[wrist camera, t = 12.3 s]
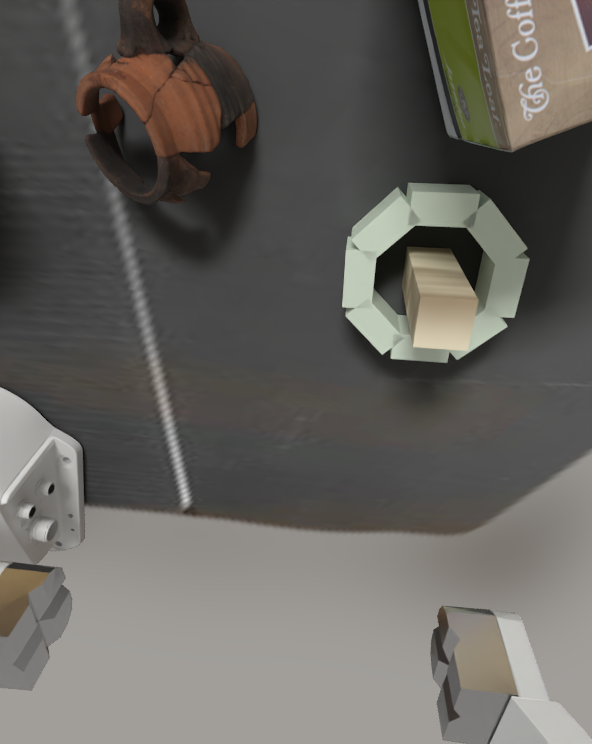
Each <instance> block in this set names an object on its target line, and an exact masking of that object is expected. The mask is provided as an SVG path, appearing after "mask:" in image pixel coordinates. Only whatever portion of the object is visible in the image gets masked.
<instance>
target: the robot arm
mask: <svg viewBox="0 0 592 744" xmlns="http://www.w3.org/2000/svg"><path fill="white" fill-rule="evenodd" d="M84 538H85V520H84V483H83V450H82V447H81V445H80V444H79V443H78V442H77V441H76V440H75V439H74V438H72V437H70V436H69V435H67V434H65V433H64V432H62V431H60V430H58V429H56V428H55V427H53V426H52V425H51V424H50V423H49V422H48V421H47V420H46V419H45V418H44V417H43V416H42V415H41V414H40V413H39V412H37V411H36V410H35V409H34V408H33V407H32V406H31V405H29V404H28V403H27V402H25V401H24V400H22V399H21V398H19V397H18V396H16V395H14V394H13V393H11V392H9V391H7V390H5V389H3V388H0V688H8V689H20V690H32V689H33V687H34V685H35V683H36V681H37V680H38V678H39V676H40V674H41V672H42V671H43V669H44V667H45V665H46V663H47V661H48V660H49V650H48V646H49V645H51V644H52V643H53V642H55V641H56V640H57V639H58V638H60V637H61V635H62V633H63V632H64V630H65V628H66V626H67V624H68V621H69V617H70V613H71V609H72V597H71V594H70V591H69V590H68V589H67V588H65V587H64V586H63V585H62V583H63V581H64V580H65V575H64V572H63V570H62V568H60V567H51V566H42V565H36V564H37V563H38V562H39V561H40V560H41V559H42V558H43V557H44V556H45V555H46V554H47V552H48V551H60V550H66V549H71V548H74V547H76V546H78V545H80V543H81V542H82V541H83V540H84ZM437 617H438V623H439V627H437V628H436V629H434V630H433V634H432V639H431V666H432V673H433V679H434V680H435V682H436V683H437V684H438V685H439V687H440V688H441V691H440V694H439V697H438V700H437V707H438V713H439V719H440V725H441V732H442V738H443V740H445V741H452V742H459V743H465V744H592V738H591V737H590V736H589V735H588V734H587V733H586V732H585V731H584V730H583V729H582V727H581V726H580V725H579V724H578V723H577V722H576V721H575V720H574V719H573V717H572V716H571V715H570V714H569V713H568V712H567V711H566V710H565V709H564V708H563V706H562V705H561V704H560V703H559V702H558V701H552V700H550V699H549V696H548V694H547V691H546V688H545V685H544V682H543V679H542V676H541V673H540V670H539V667H538V665H537V662H536V659H535V656H534V653H533V650H532V648H531V644H530V642H529V639H528V636H527V633H526V630H525V627H524V624H523V622H522V619H521V618H520V616H519V615H518V614H516V613H511V612H498V611H490V610H486V609H474V608H462V607H449V606H442V607H441V608H440V609H439V612H438V616H437Z"/></svg>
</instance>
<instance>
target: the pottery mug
mask: <svg viewBox="0 0 592 744" xmlns="http://www.w3.org/2000/svg"><path fill="white" fill-rule="evenodd" d="M153 4H154V6H155V7H156V9H157V11H158V14H159V24H158V26H156V23H155V19H154V14H153ZM119 14H120V26H121V35H120V39H119V41H118V43H117V45H116V47H117V52H118V53H119V54H120V55H121V56H123V58H121V59H118V60H117V62H116V59H115V57H114V56H113V55H112V54H111V55H109V56H108V57H107V58H106V59H105V60H103V62H102V63H101V64H100V66H99V67H98V68H97V70H96V72H95V71H94V72H91V73H89V74H87V75H86V76H84V77H83V79H82V80H81V81H80V84H79V86H78V90H77V94H76V95H77V97H76V106H77V111H78V112H79V113H80V114H81V115H82V116H87V115H89V114H91V117H92V120H93V123H94V126H95V129H96V131H97V134H88V135H86V139H85V142H86V145H87V147H88V149H89V151H90V153H91V155H92V157H93V159H94V160H95V161H96V163H97V165H98V167H99V168H100V169H101V171H102V172H103V174H104V175H105V176H106V177H107V178H108V180H109V181H110V182H111V183H112V184H113V185H114V186H116V187H117V188H118V189H119V190H120V191H121V192H122V193H123V194H124V195H125V196H127V197H129V198H131V199H132V200H134V201H136V202H139V203H142V204H153V203H155V202H157V201H159V200H160V201H166V202H171V203H184V202H185V198H184V197H182V196H178V195H183V194H189V193H191V192H193V191H194V190H196V189H203V188H204V187H205V186H206V185H207V183H208V181H209V180H210V177H211V174H210V172H208V171H198V169H197V168H195V167H194V166H192V165H191V164H190V163H189V162H188V161H187V160H186V159H185V158H184V156H183V155H182V154H181V153H183V152H185V153H192V152H196V153H198V152H199V153H200V152H212V151H213V149H214V148H216V147H217V145H218V144H219V142H220V137H221V129H225V128H226V127H227V126H229V125H230V124H231V122H232V121H234V120H235V124H236V145H237V146H238V147H240V148H242V147H244V146H246V145H247V143H248V142H249V141H250V140H251V139H252V138H253V137H254V136H255V134H256V129H257V112H256V106H255V102H254V96H253V93H252V90H251V88H250V85H249V81H248V79H247V78H246V76H245V74H244V73H243V71H242V69H241V67H240V66H239V64H238V63H237V62H236V61H235V59H234V58H232V57H231V56H230V55H229V54H228V53H227V52H225V51H224V50H223V49H221V48H220V47H218V46H215V45H211V44H209V43H207V42H204V41H202V40H199V36H198V34H197V32H196V31H195V29H194V27H193V24H192V22H191V18H190V15H189V12H188V8H187V5H186V2H185V0H119ZM167 54H171V55H174V56H180V57H184V59H183V60H182V62H181V63H179V64H178V66H176V65H175V64H174V62H173V60H172V59H171V57H169V56H168V55H167ZM100 88H107V89H110V90H112V91H113V92H115V93H116V94H118V95H119V96H120V97H121V98H122V99H124V100H125V101H126V102H127V103H128V104H129V106H130V107H131V108H132V109H133V110H134V111H135V113H136V114H137V116H138V117H139V118H140V120H141V121H142V122H143V123H144V125H145V128H146V130H147V132H148V134H149V136H150V139H151V142H152V144H153V147H154V150H155V153H156V155H157V162H158V178H157V182H156V184H155V186H154V188H153V189H152V188H151V187H149V186H147V185H145V184H144V182H143V180H142V179H141V178H140V177H139V176H138V175H137V174H136V173H135V172H134V171H133V170H132V169H131V168H130V166H129V165H128V164H127V162H126V161H125V160H124V157H123V155H122V153H121V150H120V147H119V144H118V141H117V139H116V135H115V133H114V129H115V128H116V127H117V126H118V124H119V123H120V121H121V120H122V118H123V113H122V110H121V108H120V105H119V103H118V101H117V99H116V97H115V96H114V95H113V94H105V95H104V96H103V98H102V99H100V100H99V90H100Z"/></svg>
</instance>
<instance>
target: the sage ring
mask: <svg viewBox="0 0 592 744" xmlns="http://www.w3.org/2000/svg"><path fill="white" fill-rule="evenodd" d="M415 225H416V226H439V227H461V228H467V229H468V230H469V232H470V233H471V234H472V236H473V237H474V238H475V239H476V241H477V242H478V243H479V244H480V246H481V247H482V248H483V255H482V259H481V264H480V269H479V274H478V278H477V283H476V288H475V292H474V293H475V294H476V296H477V298H478V300H479V301H478V306H477V310H476V315H475V320H474V324H473V329H472V333H471V338H470V342H469V347H468V351H462V350H448V349H433V348H419V347H413V345H412V339H411V334H410V329H409V323H408V318H407V315H397V314H396V312H395V311H394V310H393V309H392V308H391V307H390V306H389V305H388V304H387V302H386V301H385V300H384V299H383V298H382V297H381V296H380V295H379V294H378V292H377V291H376V290H375V289H374V288H373V287H374V277H375V267H376V258H377V257H378V256H380V255H381V254H382V253H383V252H384V251H386V250H387V249H388V248H389V247H390V246H391V245H393V244H394V243H395V242H396V241H397V240H399V239H400V238H401V237H402V236H403V235H405V234H406V233H407V232H408V231H409V230H410V229H412V228H413V227H414V226H415ZM527 249H528V248H527V247H526V245H525V244H524V243H523V241H522V240H521V239H520V237H519V236H518V235H517V233H516V232H515V231H514V229H513V228H512V227H511V225H510V224H509V223H508V221H507V220H506V219H505V217H504V216H503V215H502V213H501V212H500V211H499V209H498V208H497V207H496V205H495V204H494V203H493V201H492V200H491V199H490V198H489V197H488V196H486V195H485V194H484V193H483V192H481V191H480V190H478V191H476V190H475V189H474V188H473V187H472V186H470V185H458V184H430V183H408V187H407V195H406V196H405V195H404V194H403V193H402V191H401V190H400V189H399V188H398V187H397V188H396V189H395V190H393V191H392V192H391V193H390V194H389V195H388V196H387V197H386V198H385V199H383V200H382V201H381V202H380V203H379V204H378V205H377V206H376V207H375V208H373V209H372V210H371V211H370V212H369V213H368V214H367V215H366V216H365V217H363V218H362V219H361V220H360V221H359V222H358V223H357V224H356V225H355V226H353V227H352V235H351V237H348V240H347V247H346V259H345V274H344V288H343V303H342V307H346V317H347V318H348V319H349V320H350V321H351V322H352V324H353V325H354V326H355V327H356V328H357V329H358V330H359V331H360V332H361V333H362V334H363V335H364V336H365V337H366V338H367V339H368V340H369V342H370V343H371V344H372V345H373V346H374V347H375V348H376V349H377V350H378V351H379V352H380V353H381V354H382V355H383V354H384V353H385V352H387V351H388V350H389V349H390V356H391V359H401V360H414V361H428V362H442V363H447V362H448V357H449V351H450V353H451V354H452V355H453V356H454V357H455V358H456V359H457V360H458V359H460V358H461V357H463V356H464V355H466V354H467V353H469V352H470V351H472V350H473V349H475V348H476V347H478V346H479V345H481V344H482V343H484V342H485V341H487V340H488V339H490V338H491V337H493V336H494V335H496V334H497V333H499V332H500V331H502V330H503V329H505V328H506V327H508V326H507V324H506V323H505V321H504V320H503V318H502V317H507V318H514V317H515V313H516V309H517V306H518V302H519V298H520V294H521V290H522V287H523V283H524V279H525V275H526V271H527V268H528V264H529V260H530V259H529V258H528V257H527V256H526V255H525V254H524V253H523V252H524V251H525V250H527Z"/></svg>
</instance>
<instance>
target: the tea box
mask: <svg viewBox="0 0 592 744" xmlns="http://www.w3.org/2000/svg"><path fill="white" fill-rule="evenodd" d="M418 4H419V9H420V13H421V18H422V23H423V27H424V32H425V36H426V41H427V45H428V50H429V54H430V59H431V64H432V68H433V73H434V77H435V82H436V87H437V91H438V96H439V100H440V105H441V109H442V114H443V118H444V122H445V126H446V131H447V133H448V136H450V137H452V138H455V139H461V140H463V141H466V142H469V143H473V144H477V145H480V146H485V147H489V148H493V149H496V150H500V151H505V152H514V151H516V150H518V149H520V148H523V147H525V146H527V145H530V144H533V143H535V142H538V141H540V140H543V139H546V138H548V137H551V136H554V135H556V134H559V133H562V132H564V131H567V130H570V129H572V128H575V127H578V126H580V125H583V124H586V123H588V122H591V121H592V0H418Z"/></svg>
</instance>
